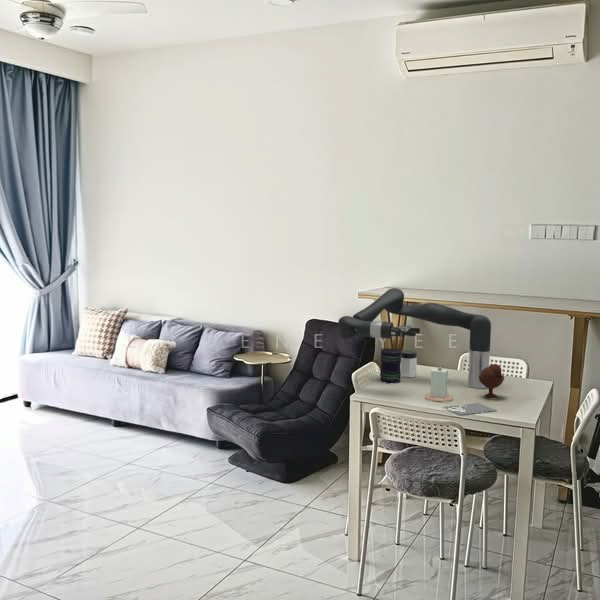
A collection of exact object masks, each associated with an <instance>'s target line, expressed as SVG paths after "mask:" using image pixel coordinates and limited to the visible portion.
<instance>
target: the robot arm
mask: <svg viewBox="0 0 600 600" xmlns="http://www.w3.org/2000/svg"><path fill="white" fill-rule="evenodd" d="M404 300H405V293H404V292H403V290H401V289H400V288H398V287H397V288H396V287H395V288H390V289H387V291H385V292H383V294H381V296H379V297H378V298H377V299H376V300H374V301H373V302H371V304H369V305H367V306H366V307H365V308H364V309H362V310H360V311H358V312H356V313H354V314H353V315H352V316H348V315H344V316H341V317H340V318H339V319H338V323H337V324H338V329H339V336H340V337H341V338H342V339H343V340H350V339H352V338H353V339H354V337H355V336H357V335H359V336H360V337H366V338H375V339H385V340H392V339H393V337H399V338H401V337H402V338H403V337H416V335H417V334H420V333H421V329H420V328H419V327H412V326H410V325H409V326H408V325H397V326H394V323H393V322H392V321H382V320H381V321H379V320H377V321H374V320H375V319H376V318H377V317H378V316H379V315H380V314H381V313H382V312H383V311H384V310H385V311H386V312H388V314H389V313H390V314H393V315H399V316H403V317H408V318H409V317H410V318H415V319H418V320H423V321H426V322H430V323H432V324H436V325H442V326H447V327H448V326H449V327H458V328H461V329H462V328H463V329H466V330H469V357H468V376H467V377H468V378H467V379H468V380H467V382H468V383H467V386H468V387H470V388H475V389H486V388H487V387H486V386H484V385H483V384H482V383H481V382H480V380H479V375H480V374H481V372H482V370H483V369H484V368H486V367H489V366H490V357H491V356H490V355H491V339H492V337H491V335H492V333H491V332H492V322H491V320H490V318H488V317H487V316H485V315H483V314H476V313H470V312H469V313H468V312H464V311H460V310H458V309H456V308H452V307H449V306H447V305H443V304H440V303H435V302H425V303H422V304H418V305H412V304H411V305H410V304H406V303H404Z"/></svg>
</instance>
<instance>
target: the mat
mask: <svg viewBox="0 0 600 600" xmlns="http://www.w3.org/2000/svg"><path fill="white" fill-rule="evenodd" d="M465 404H466V405H464V406H462V407H461V408H463V410H464V409H465V411H466V412H460V411H452V412H451V410H450V411H449V412H451V413H453V414H456V415H458V416H460V417H461V416H469V415H473V414H472V413H473V412H474V413H478V414H482V413H481V412H486V413H491V412H490V411H495V412H497V409H494V408H492V407H490V406H487V405H484V404H483V403H480V402H476V403H465ZM459 405H460V404H457V406H456V405H447V406H443V407H444V408H446V409H448V408H452V407H459ZM448 406H449V407H448ZM465 406H467V407H465ZM444 408H443V409H444ZM446 409H445V410H446ZM452 409H456V408H452Z"/></svg>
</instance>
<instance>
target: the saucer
mask: <svg viewBox="0 0 600 600" xmlns="http://www.w3.org/2000/svg"><path fill="white" fill-rule="evenodd" d="M425 398H426V399H425ZM424 399H425V400H427V399H428V400H427V401H429V400H432V401H431V402H434V401H450V400H452V399H453V400H454V396H453V395H452V394H450V393H447V396H446V397H445V399H443V398H434V397H430V392H427V393H426V394H424ZM453 400H452V401H453ZM450 402H451V401H450Z"/></svg>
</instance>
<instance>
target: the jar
mask: <svg viewBox="0 0 600 600" xmlns="http://www.w3.org/2000/svg"><path fill="white" fill-rule="evenodd" d="M417 363H418V358H417V351H415V350H408V349H407V350H405V349H404V350H401V363H400V370H401V373H400V374H401V377H400V378H402V377H403V378H409V377H410V378H414V377H415V376H416V377H417V366H418V364H417Z"/></svg>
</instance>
